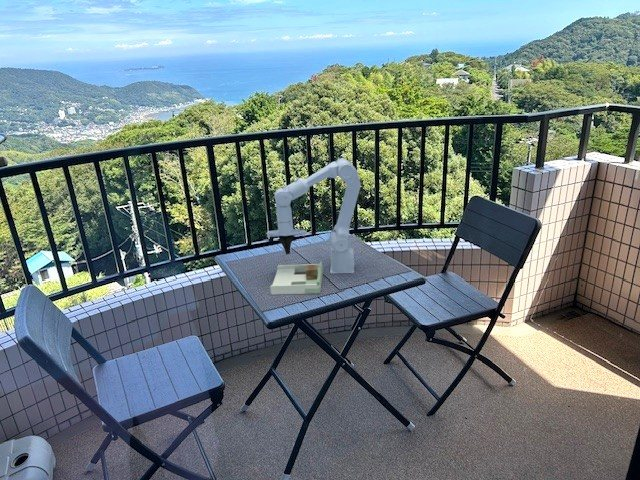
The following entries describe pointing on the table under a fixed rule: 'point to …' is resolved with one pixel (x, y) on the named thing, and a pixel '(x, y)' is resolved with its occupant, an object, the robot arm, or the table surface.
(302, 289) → the board
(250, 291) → the table surface
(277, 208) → the robot arm
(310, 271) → the walnut block
